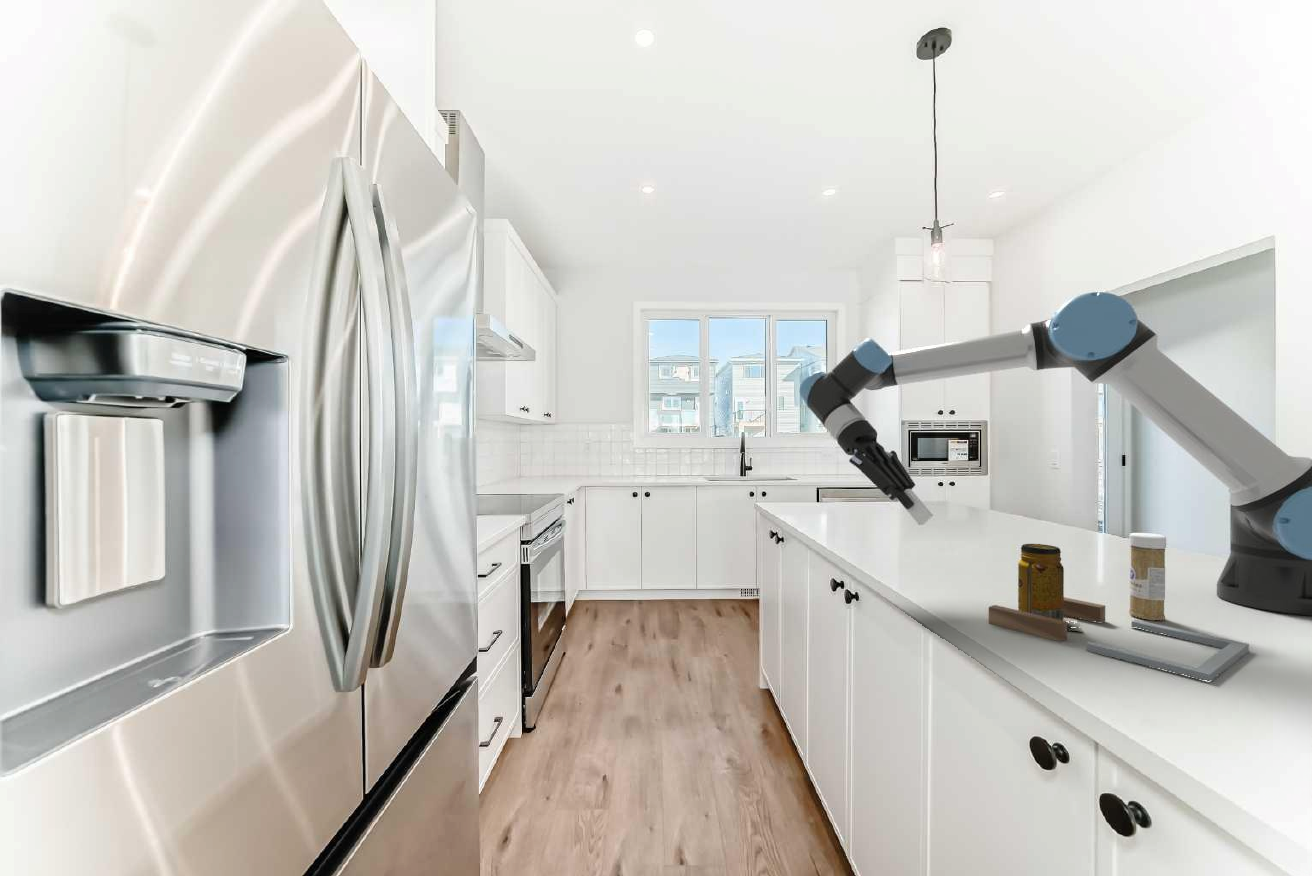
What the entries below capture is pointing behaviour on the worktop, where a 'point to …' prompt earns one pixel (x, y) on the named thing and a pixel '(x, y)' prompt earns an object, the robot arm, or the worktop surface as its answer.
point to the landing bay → (1204, 671)
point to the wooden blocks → (1046, 618)
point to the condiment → (1042, 583)
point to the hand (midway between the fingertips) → (926, 520)
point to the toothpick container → (1147, 576)
